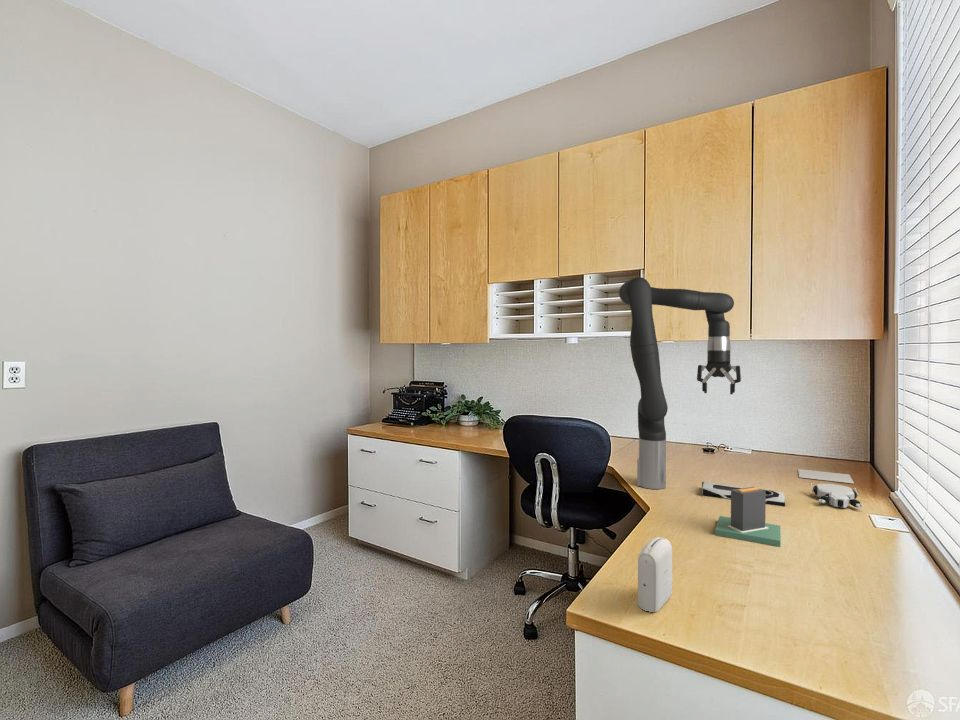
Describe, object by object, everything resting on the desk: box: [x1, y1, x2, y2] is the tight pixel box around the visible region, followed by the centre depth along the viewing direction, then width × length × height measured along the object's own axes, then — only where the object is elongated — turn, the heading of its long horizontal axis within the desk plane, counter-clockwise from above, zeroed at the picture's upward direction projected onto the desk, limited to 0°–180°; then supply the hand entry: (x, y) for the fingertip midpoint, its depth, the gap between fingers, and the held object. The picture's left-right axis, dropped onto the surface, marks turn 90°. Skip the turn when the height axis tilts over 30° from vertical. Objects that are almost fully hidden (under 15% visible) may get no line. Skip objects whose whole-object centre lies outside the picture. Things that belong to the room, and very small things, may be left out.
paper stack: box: [797, 468, 855, 484], centre depth 184 cm, size 23×25×1 cm
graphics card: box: [701, 481, 786, 507], centre depth 162 cm, size 10×3×25 cm
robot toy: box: [810, 483, 864, 509], centre depth 156 cm, size 12×4×15 cm
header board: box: [714, 515, 781, 548], centre depth 132 cm, size 15×12×5 cm
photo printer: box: [637, 536, 673, 613], centre depth 98 cm, size 10×4×12 cm, turn 140°
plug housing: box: [730, 486, 767, 531], centre depth 132 cm, size 8×4×10 cm, turn 108°
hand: (718, 393), depth 177 cm, fingers open, 8 cm apart
